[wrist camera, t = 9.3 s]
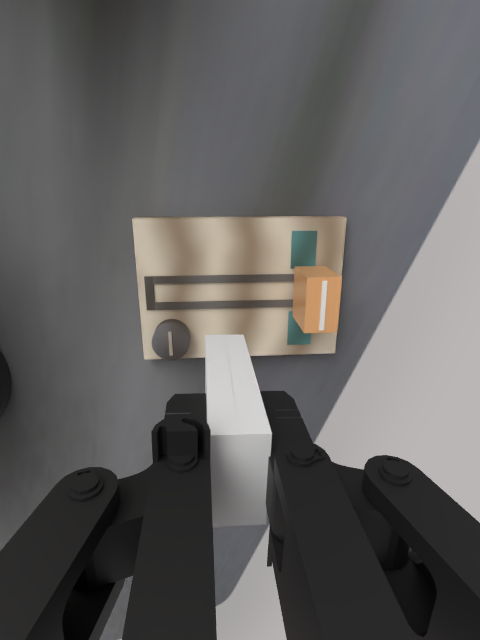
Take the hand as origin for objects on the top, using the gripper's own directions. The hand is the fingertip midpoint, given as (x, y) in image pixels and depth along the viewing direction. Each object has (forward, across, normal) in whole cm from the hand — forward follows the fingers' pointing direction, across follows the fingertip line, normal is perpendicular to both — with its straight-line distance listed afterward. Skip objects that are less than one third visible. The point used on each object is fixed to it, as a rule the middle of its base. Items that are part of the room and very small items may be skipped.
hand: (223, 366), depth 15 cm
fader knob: (+22, +10, -3) cm, 24 cm away
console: (+25, +3, -3) cm, 25 cm away
